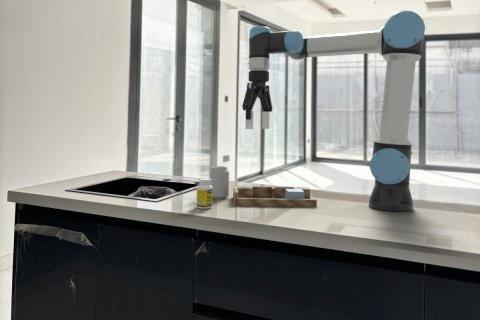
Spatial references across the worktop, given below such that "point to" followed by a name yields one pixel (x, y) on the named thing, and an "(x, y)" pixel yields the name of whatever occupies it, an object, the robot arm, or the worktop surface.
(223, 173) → the can
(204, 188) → the supplement bottle
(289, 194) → the block
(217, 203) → the worktop surface
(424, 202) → the worktop surface
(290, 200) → the box
